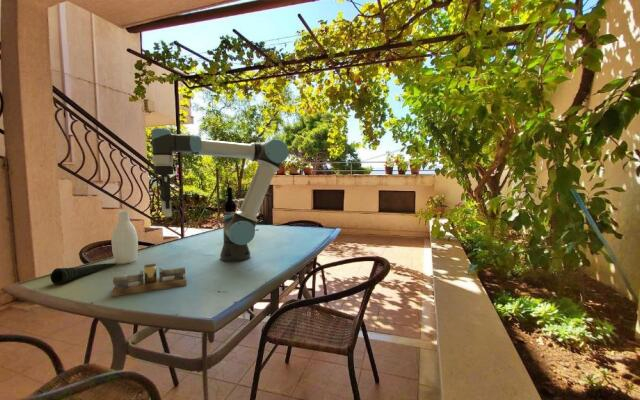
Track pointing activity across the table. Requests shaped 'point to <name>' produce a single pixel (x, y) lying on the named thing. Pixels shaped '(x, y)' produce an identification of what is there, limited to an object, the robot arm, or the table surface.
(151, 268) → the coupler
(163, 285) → the double roll holder
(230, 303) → the table surface
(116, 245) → the bottle
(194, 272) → the table surface
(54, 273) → the tool
